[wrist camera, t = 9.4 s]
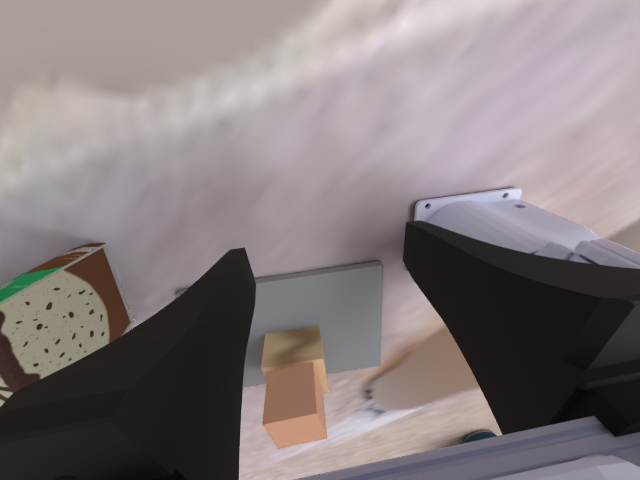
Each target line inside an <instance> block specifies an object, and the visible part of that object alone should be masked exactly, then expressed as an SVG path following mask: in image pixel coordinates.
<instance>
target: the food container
mask: <svg viewBox="0 0 640 480" xmlns="http://www.w3.org/2000/svg"><path fill="white" fill-rule="evenodd" d="M133 322H134V321H133V318H132V315H131V312H130V310H129V307H128V304H127V301H126V298H125V296H124V293H123V290H122V287H121V285H120V282H119V279H118V276H117V274H116V271H115V268H114V265H113V263H112V260H111V257H110V254H109V252H108V249H107V246H106V243H93V244H88V245H84V246H81V247H77V248H74V249H72V250H70V251H68V252H66V253H64V254H62V255H60V256H58V257H56V258H54V259H52V260H50V261H48V262H46V263H44V264H42V265H40V266H38V267H36V268H34V269H32V270H30V271H28V272H26V273H24V274H22V275H20V276H18V277H16V278H14V279H12V280H10V281H8V282H6V283H4V284H2V285H1V286H0V407H1V406H2V405H3V403H4V402H5V401H6V400H7V399H8V398H9V397H10V396H11V395H12V394H13V393H14V392H15V391H17V390H19V389H22V388H24V387H26V386H28V385H30V384H32V383H34V382H36V381H38V380H40V379H42V378H44V377H46V376H48V375H50V374H52V373H54V372H56V371H58V370H60V369H62V368H64V367H66V366H68V365H70V364H72V363H74V362H76V361H78V360H80V359H82V358H84V357H85V356H87V355H89V354H91V353H93V352H94V351H96V350H98V349H100V348H102V347H103V346H105V345H107V344H109V343H110V342H112V341H114V340H116V339H117V338H119V337H121V336H122V335H124V334H126V332H127V331H128V329H129V328H130V326H131V325H132V323H133Z"/></svg>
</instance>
